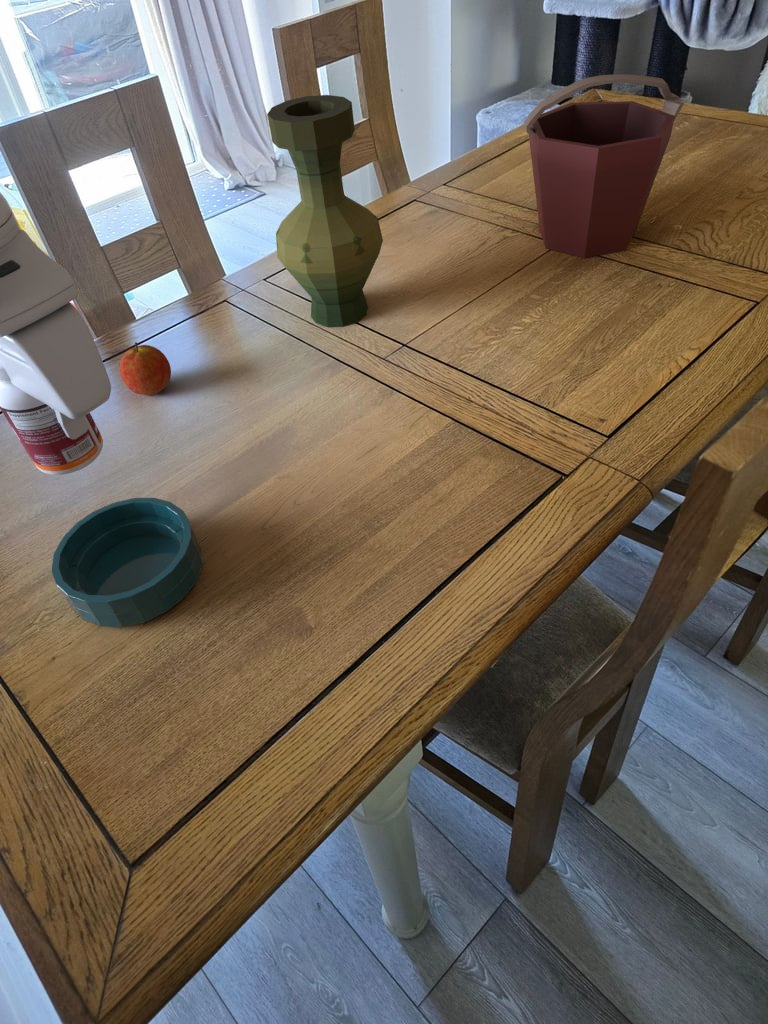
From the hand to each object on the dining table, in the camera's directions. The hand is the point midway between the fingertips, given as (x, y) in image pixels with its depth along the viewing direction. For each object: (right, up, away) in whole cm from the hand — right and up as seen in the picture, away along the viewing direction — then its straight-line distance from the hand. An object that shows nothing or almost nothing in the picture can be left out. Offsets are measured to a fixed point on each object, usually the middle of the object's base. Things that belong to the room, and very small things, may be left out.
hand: (51, 418), depth 60 cm
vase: (+22, +25, +54) cm, 63 cm away
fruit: (-5, +10, +43) cm, 44 cm away
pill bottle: (0, -3, +3) cm, 4 cm away
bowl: (+1, -15, +17) cm, 23 cm away
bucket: (+65, +41, +64) cm, 100 cm away
